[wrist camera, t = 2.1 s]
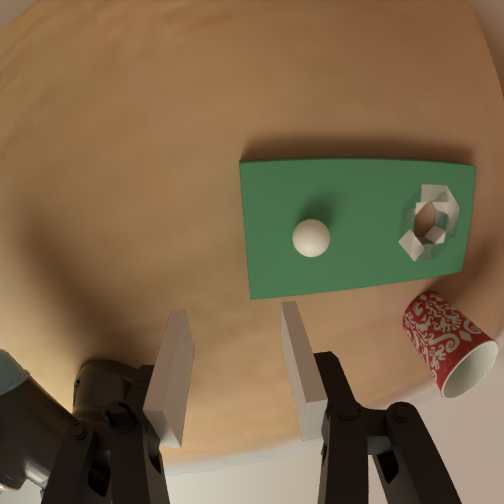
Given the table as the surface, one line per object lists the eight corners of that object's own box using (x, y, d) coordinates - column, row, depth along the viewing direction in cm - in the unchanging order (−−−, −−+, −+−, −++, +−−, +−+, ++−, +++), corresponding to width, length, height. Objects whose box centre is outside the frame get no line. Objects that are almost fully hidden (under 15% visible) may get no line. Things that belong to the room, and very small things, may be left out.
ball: (289, 250, 29) (296, 264, 26) (288, 215, 28) (295, 226, 25) (323, 247, 29) (334, 261, 26) (324, 213, 28) (335, 224, 25)
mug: (392, 303, 36) (443, 370, 23) (444, 274, 35) (504, 327, 22) (401, 361, 40) (438, 422, 28) (446, 335, 39) (489, 388, 27)
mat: (249, 288, 33) (250, 299, 31) (239, 161, 28) (239, 163, 26) (451, 264, 34) (461, 271, 32) (463, 163, 29) (475, 166, 26)
